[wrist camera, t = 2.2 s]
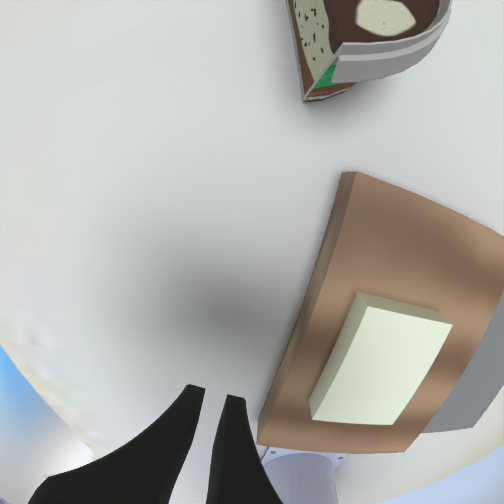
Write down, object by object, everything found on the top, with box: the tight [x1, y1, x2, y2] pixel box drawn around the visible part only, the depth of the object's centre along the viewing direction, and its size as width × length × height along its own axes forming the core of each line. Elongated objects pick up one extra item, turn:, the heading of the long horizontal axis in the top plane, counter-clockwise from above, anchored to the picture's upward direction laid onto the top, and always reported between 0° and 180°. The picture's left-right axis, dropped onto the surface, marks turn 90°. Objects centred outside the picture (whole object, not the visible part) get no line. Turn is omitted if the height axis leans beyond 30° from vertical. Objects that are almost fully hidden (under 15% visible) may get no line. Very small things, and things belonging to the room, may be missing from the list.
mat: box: [421, 290, 504, 433], centre depth 18 cm, size 20×12×1 cm, turn 166°
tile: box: [309, 291, 453, 425], centre depth 15 cm, size 8×6×2 cm
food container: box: [286, 0, 452, 102], centre depth 9 cm, size 12×6×10 cm, turn 5°
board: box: [257, 172, 504, 454], centre depth 17 cm, size 20×14×3 cm
